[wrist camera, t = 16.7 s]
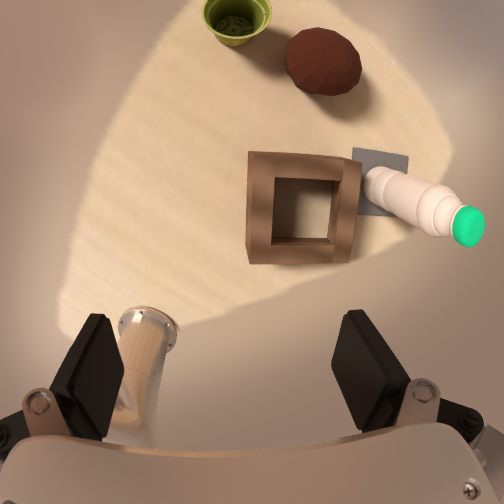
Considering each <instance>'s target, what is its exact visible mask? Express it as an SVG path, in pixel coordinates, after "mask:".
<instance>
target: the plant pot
mask: <svg viewBox="0 0 504 504" xmlns="http://www.w3.org/2000/svg"><path fill="white" fill-rule="evenodd" d="M201 14H202V19H203V22H204V24H205V25H206V27H207V28H208V29H209V30H210V31H212V32H213V33H214V34H215V36H216V38H217V39H218V40H219V41H220V42H221V43H223V44H225V45H227V46H239V45H243V44H245V43H246V42H248V41H249V40H250V39H251V37H252V36H255V35H257V34H259V33H260V32H262V31H263V30H264V29H265V28H266V27H267V26H268V24H269V23H270V20H271V17H272V9H271V5H270V3H269V1H268V0H205V2H204V4H203V6H202V12H201ZM238 19H240V20H243V21H244V22H245V23H242V22H241V21H238ZM223 22H224V24H223V25H222V26H221V27H220V28H219V25H220V24H221V23H223ZM233 29H235V31H234V32H233V31H232V30H233ZM247 34H249V35H247ZM246 35H247V36H246Z"/></svg>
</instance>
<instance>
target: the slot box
mask: <svg viewBox="0 0 504 504" xmlns="http://www.w3.org/2000/svg"><path fill="white" fill-rule="evenodd" d="M361 174H362V162H358V161H354V160H350V159H346V158H342V157H333V156H323V155H311V154H297V153H280V152H257V151H248V174H247V206H246V241H245V245H246V250H247V254H248V259H249V264H310V263H349V259H350V254H351V248H352V242H353V236H354V229H355V222H356V215H357V208H358V200H359V192H360V183H361ZM275 177H286V178H306V179H323V180H333V190H332V200H331V209H330V218H329V226H328V234H327V238H271V235H272V218H273V200H274V181H275Z"/></svg>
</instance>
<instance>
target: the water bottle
mask: <svg viewBox="0 0 504 504" xmlns="http://www.w3.org/2000/svg"><path fill="white" fill-rule="evenodd" d="M363 190H364V193H365V196H366V197H367V199H368V200H369V201H370V202H372V203H374V204H376V205H378V206H381V207H382V208H383V209H385V210H387V211H389V212H392V213H394V214H395V215H396V216H398V217H400V218H401V219H403V220H404V221H406V222H408V223H410V224H412V225H413V226H415V227H417V228H420V229H422V230H423V231H424V232H425V233H426V234H428V235H430V236H432V237H444V236H447V237H448V236H452V237H453V238H454V239H455V240H456V241H457V242H458V243H460V244H461V245H463V246H465V247H473V246H474V245H476V244H477V243H478V242H479V241H480V239H481V237H482V235H483V232H484V229H485V219H484V216H483V214H482V212H480V211H479V210H478V209H477V208H474V207H472V206H467V205H462V203H461V202H460V200H459V199H458V198H457V196H456V195H455V193H454V192H453V191H452V190H451V189H449V188H448V187H446V186H443V185H437V184H435V183H433V182H430V181H428V180H425V179H422V178H419V177H416V176H412V175H408V174H404V173H402V172H400V171H396V170H392V169H390V168H387V167H382V166H379V167H375V168H373V169H371V170H370V171H369V172H368V173H367V175H366V176H365V179H364V183H363Z"/></svg>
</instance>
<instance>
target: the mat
mask: <svg viewBox="0 0 504 504" xmlns="http://www.w3.org/2000/svg"><path fill="white" fill-rule="evenodd" d="M352 160H354V161H358V162H362V174H361V183H360V192H359V200H358V208H357V214H359V215H379V216H396V215H395V214H394V213H392V212H389V211H387V210H385V209H383V208H382V207H381V206H378V205H376V204H374V203H372V202H370V201H369V200H368V199H367V197H366V196H365V193H364V190H363V183H364V179H365V176H366V175H367V173H368V172H369V171H370V170H371V169H373V168H375V167H379V166H382V167H387V168H390V169H392V170H396V171H400V172H402V173H404V174H407V165H408V156H404V155H398V154H393V153H387V152H381V151H375V150H368V149H361V148H354V147H353V154H352ZM396 217H398V216H396Z"/></svg>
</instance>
